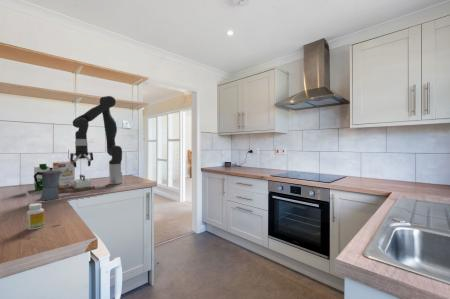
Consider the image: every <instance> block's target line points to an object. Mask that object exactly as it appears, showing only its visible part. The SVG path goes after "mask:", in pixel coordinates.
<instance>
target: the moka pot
mask: <svg viewBox="0 0 450 299" xmlns="http://www.w3.org/2000/svg"><path fill="white" fill-rule="evenodd" d="M61 173H62V172H61V171H54V170H53V167H50V170H49V171H44V172H37V173H36V174H35V175H34V174H33V180H34V179H35V182H36V185H37V187H42V185H41V186H40V185H39V184H38V180H37V177H36V176H37V175H42V181H43V190H41V195H40V200H41V201H53V200H54V201H55V200H58V199H59V198H60V196H59V194H58V187H57V186H58V182H59V177H60V175H61Z"/></svg>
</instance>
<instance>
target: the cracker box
mask: <svg viewBox="0 0 450 299" xmlns="http://www.w3.org/2000/svg"><path fill="white" fill-rule="evenodd" d="M52 168H53V169H52V170H54V171H61V172H62V173H61V175H60V177H59V188H60V187H69V186H74V180H76V179H75V178H76V177H75V176H76V175H75V174H76V167H74V164H73V162H71V161H70V160H68V161H58V162H56V161H55V162H52Z"/></svg>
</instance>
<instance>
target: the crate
mask: <svg viewBox="0 0 450 299" xmlns="http://www.w3.org/2000/svg"><path fill="white" fill-rule="evenodd" d="M91 185H92V180H91V179H89V178H86V176H85V174H79V179H75V180H74V189H75V188H83V187H90V186H91Z"/></svg>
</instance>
